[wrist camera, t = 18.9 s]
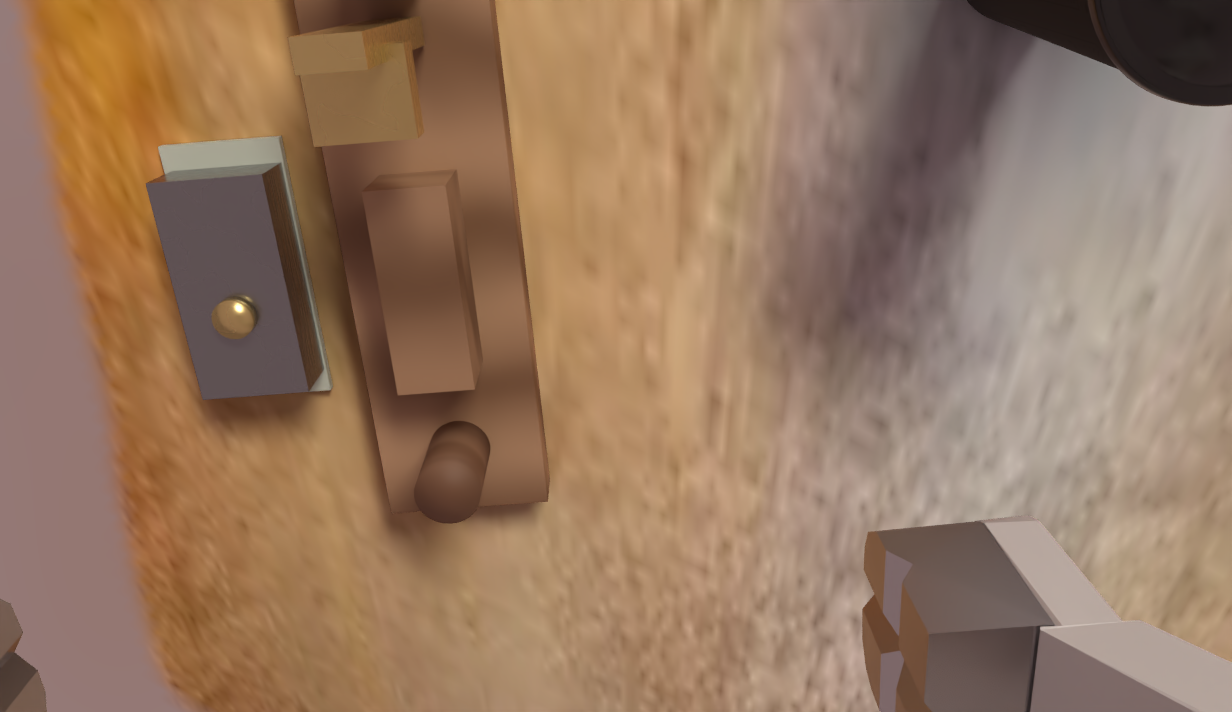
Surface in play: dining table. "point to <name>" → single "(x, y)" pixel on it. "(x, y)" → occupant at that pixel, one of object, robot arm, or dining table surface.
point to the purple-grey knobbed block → (238, 279)
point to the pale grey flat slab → (248, 154)
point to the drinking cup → (1138, 40)
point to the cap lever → (360, 81)
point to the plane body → (442, 273)
